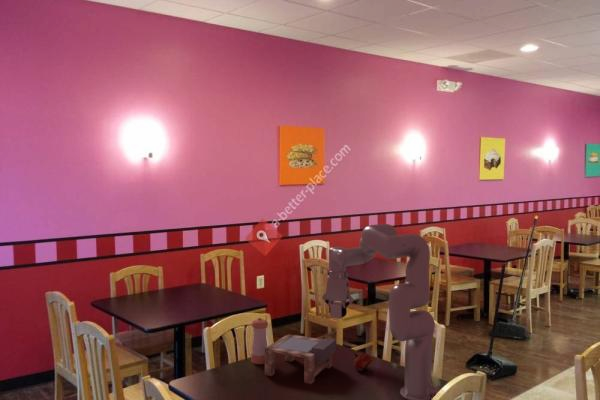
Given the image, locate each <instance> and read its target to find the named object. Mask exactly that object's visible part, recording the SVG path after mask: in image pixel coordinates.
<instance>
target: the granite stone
mask: <svg viewBox="0 0 600 400" xmlns="http://www.w3.org/2000/svg"><path fill="white" fill-rule="evenodd" d="M342 308H343V306H342V302H341V301H334V302H333V303H332V304H330V313H329V316H330V319H343V318H344V317H345V318H346V316H344V317H342Z"/></svg>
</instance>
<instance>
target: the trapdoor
mask: <svg viewBox="0 0 600 400" xmlns="http://www.w3.org/2000/svg"><path fill="white" fill-rule="evenodd" d="M322 339H323V340H322V341H320V342H318V341H311V340H305V339H299V338H293V337H291V338H290V339H288V340H287V341H285V342H283V343H282V344H280V345H279V346H277V347H276V348H282V349H288V350H294V351H300V352H306V353H312V354H315V358H314V362H324V361H325V360H326V359H327V358H329V357H330V356H331V355H332V356H333V355H334V354H335V353H336V351H337V350H336V346H337V344H336V343H337V341H336V339H332V338H326V337H325V338H322Z"/></svg>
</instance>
